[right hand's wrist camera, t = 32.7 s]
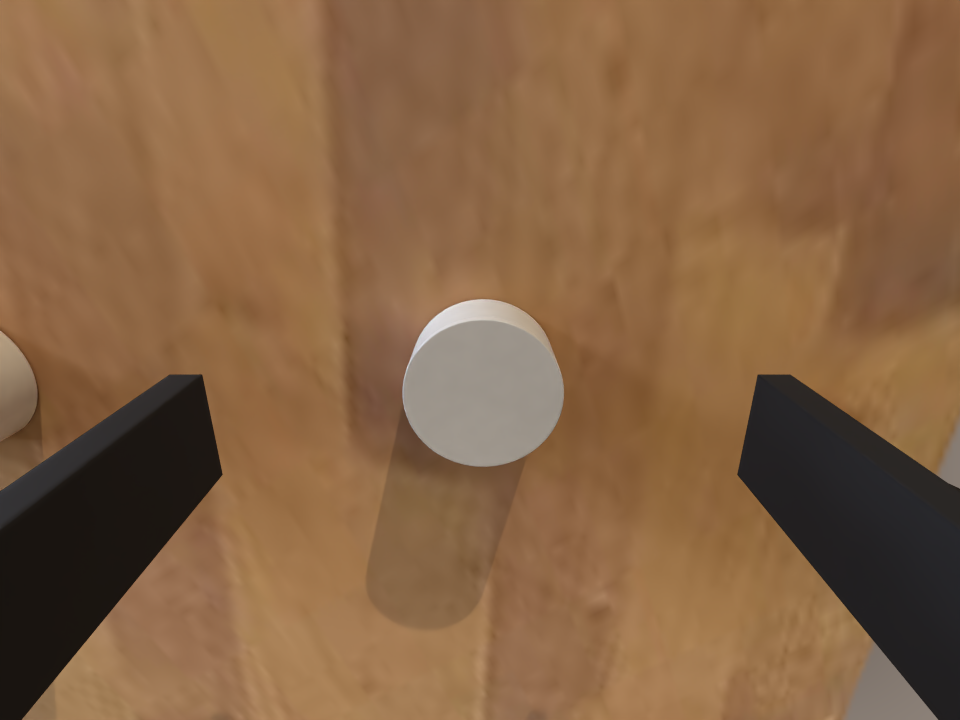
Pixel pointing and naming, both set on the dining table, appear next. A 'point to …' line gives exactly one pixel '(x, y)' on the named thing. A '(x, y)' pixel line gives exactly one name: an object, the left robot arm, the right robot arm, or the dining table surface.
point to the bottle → (15, 389)
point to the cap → (483, 384)
